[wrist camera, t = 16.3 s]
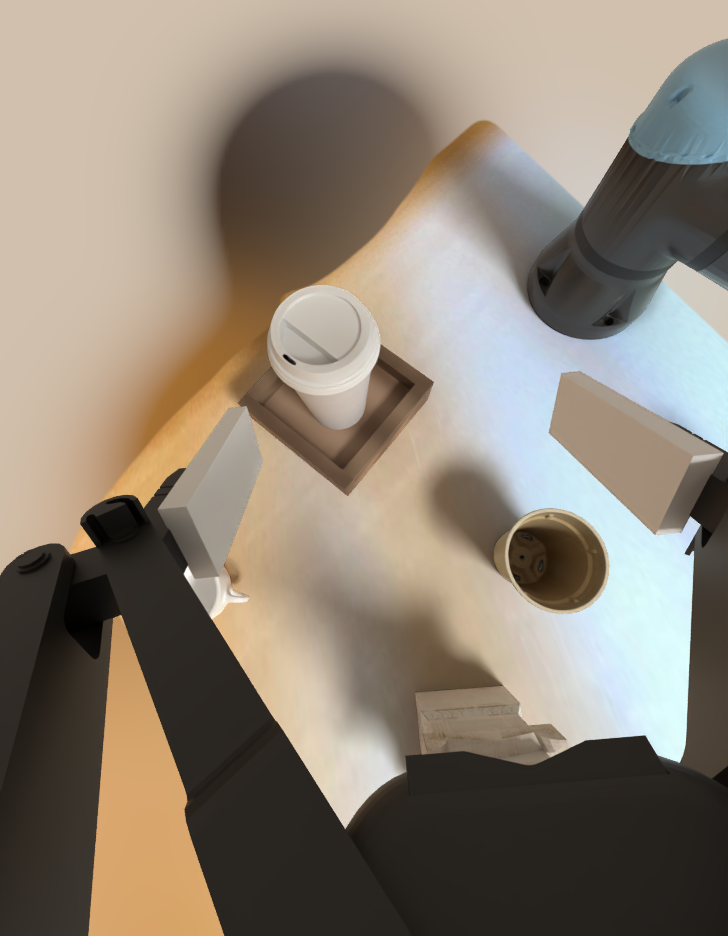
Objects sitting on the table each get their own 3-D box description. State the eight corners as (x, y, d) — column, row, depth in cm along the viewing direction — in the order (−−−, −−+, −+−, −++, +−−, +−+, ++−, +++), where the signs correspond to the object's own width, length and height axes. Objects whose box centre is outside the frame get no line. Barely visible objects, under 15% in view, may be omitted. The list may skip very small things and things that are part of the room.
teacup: (165, 617, 40) (134, 627, 35) (182, 549, 42) (154, 549, 37) (250, 630, 40) (232, 643, 35) (264, 561, 42) (248, 563, 36)
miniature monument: (410, 687, 38) (531, 1144, 9) (507, 680, 38) (949, 1118, 9) (421, 802, 36) (633, 1926, 7) (524, 795, 36) (1199, 1897, 7)
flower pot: (482, 601, 40) (511, 614, 32) (474, 517, 42) (500, 509, 34) (566, 599, 40) (618, 613, 31) (554, 515, 42) (600, 507, 33)
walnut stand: (332, 331, 48) (327, 306, 43) (427, 399, 45) (433, 381, 41) (252, 418, 46) (237, 402, 41) (347, 495, 43) (344, 489, 38)
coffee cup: (285, 389, 43) (240, 306, 28) (355, 355, 44) (346, 258, 29) (320, 456, 41) (290, 404, 26) (392, 419, 42) (402, 349, 27)
